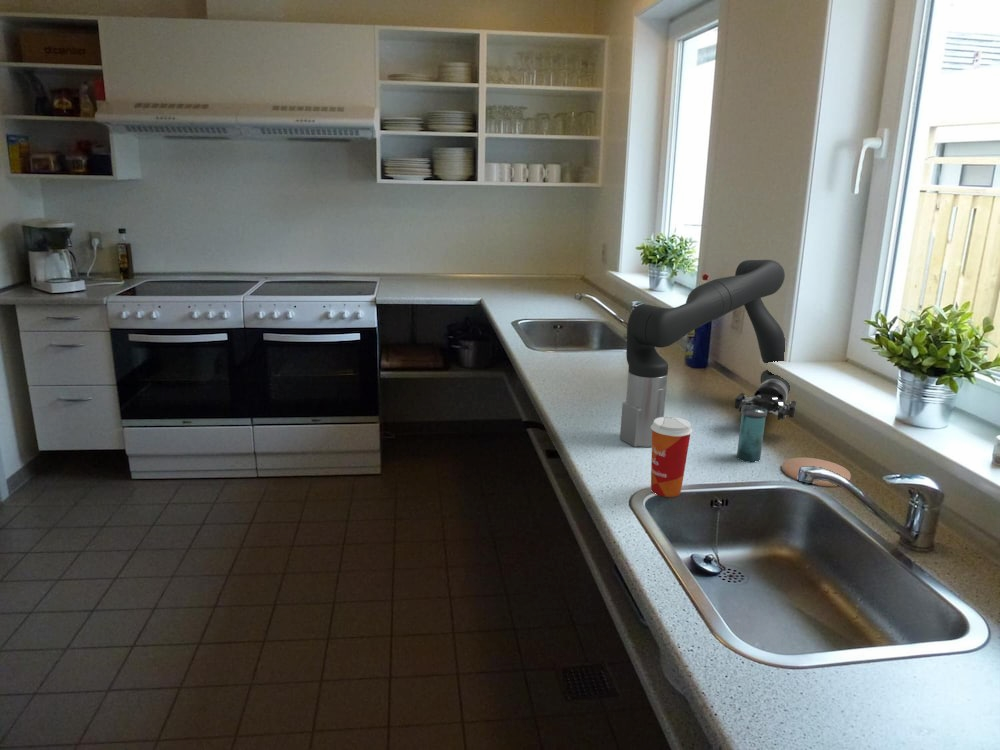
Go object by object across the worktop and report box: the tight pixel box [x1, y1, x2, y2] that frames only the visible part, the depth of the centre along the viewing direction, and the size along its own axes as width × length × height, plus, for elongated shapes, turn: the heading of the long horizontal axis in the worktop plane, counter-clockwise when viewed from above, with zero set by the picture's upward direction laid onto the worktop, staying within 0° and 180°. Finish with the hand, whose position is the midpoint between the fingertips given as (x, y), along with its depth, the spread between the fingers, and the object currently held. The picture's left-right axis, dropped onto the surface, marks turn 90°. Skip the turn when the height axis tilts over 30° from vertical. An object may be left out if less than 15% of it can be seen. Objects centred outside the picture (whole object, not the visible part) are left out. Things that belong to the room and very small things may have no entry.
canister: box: [736, 404, 768, 463], centre depth 170 cm, size 6×6×12 cm
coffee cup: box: [650, 416, 693, 498], centre depth 150 cm, size 8×8×15 cm
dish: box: [781, 456, 852, 488], centre depth 163 cm, size 14×14×1 cm
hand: (760, 413), depth 179 cm, fingers open, 8 cm apart
